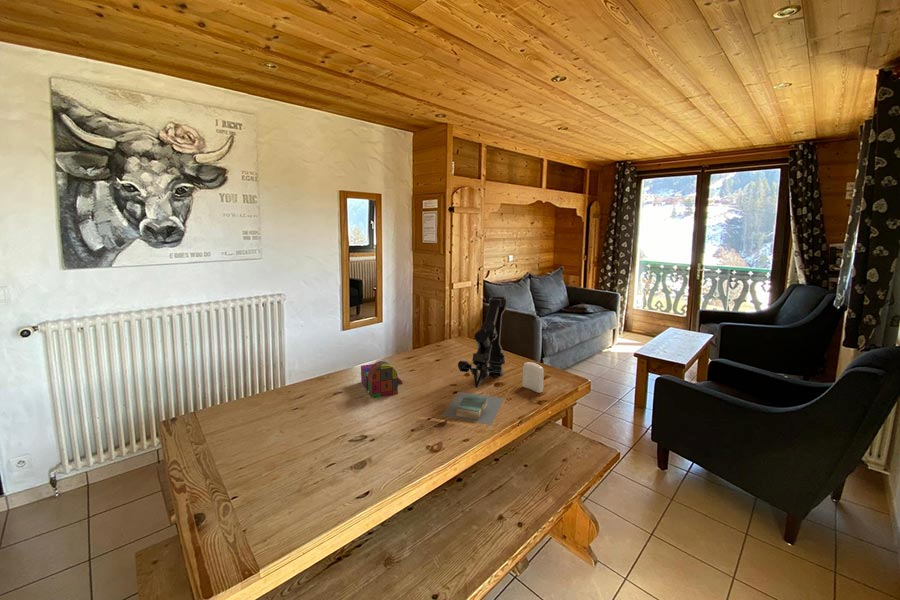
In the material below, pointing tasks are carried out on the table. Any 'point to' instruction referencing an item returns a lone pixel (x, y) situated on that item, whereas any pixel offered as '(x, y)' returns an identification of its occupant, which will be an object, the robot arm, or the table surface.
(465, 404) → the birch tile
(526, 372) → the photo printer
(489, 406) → the rubber mat
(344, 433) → the table surface
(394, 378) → the block puzzle
